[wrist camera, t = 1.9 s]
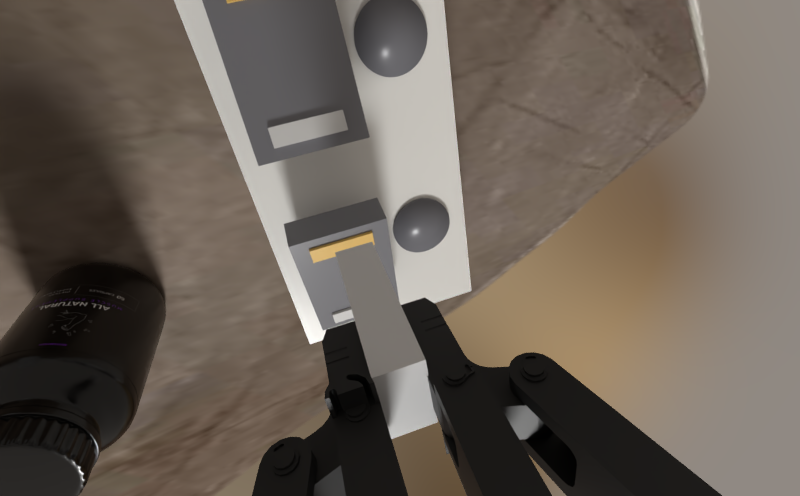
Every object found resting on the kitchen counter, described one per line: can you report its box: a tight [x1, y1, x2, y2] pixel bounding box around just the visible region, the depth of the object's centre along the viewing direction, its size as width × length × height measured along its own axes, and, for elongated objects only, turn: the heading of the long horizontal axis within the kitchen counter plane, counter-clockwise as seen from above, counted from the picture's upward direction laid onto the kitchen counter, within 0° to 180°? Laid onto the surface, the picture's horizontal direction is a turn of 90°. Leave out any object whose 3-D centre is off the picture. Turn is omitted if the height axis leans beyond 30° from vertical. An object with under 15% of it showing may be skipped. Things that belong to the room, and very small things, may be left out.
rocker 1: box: [202, 0, 370, 166], centre depth 17 cm, size 5×7×2 cm, turn 10°
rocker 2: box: [284, 198, 399, 330], centre depth 22 cm, size 5×7×2 cm, turn 10°
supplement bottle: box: [0, 263, 166, 496], centre depth 22 cm, size 7×7×12 cm
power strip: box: [174, 0, 471, 344], centre depth 20 cm, size 11×32×6 cm, turn 10°
